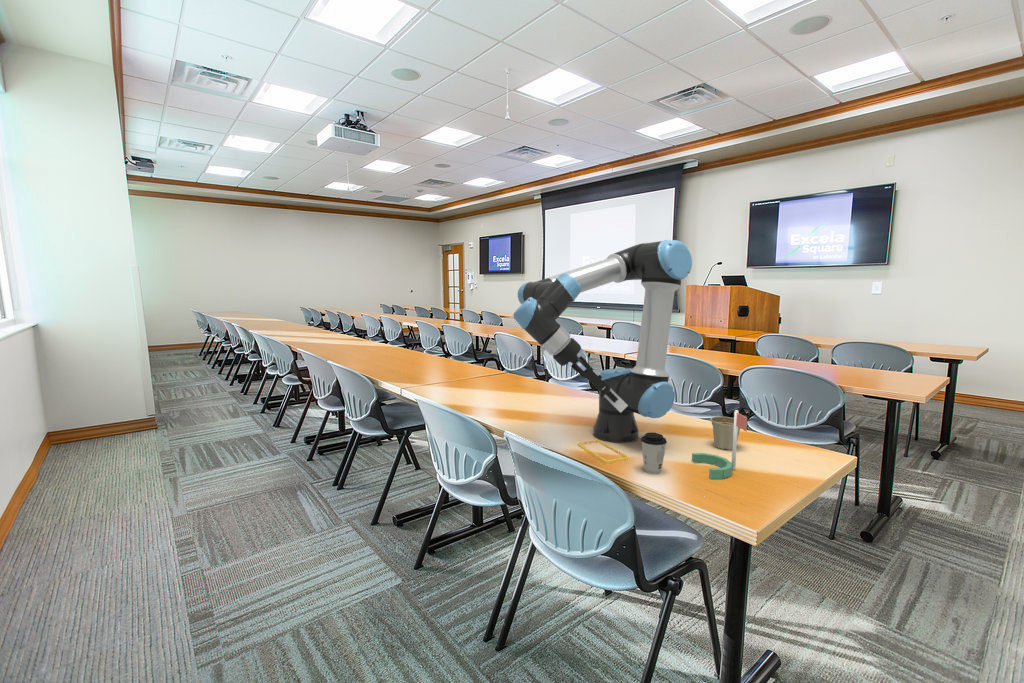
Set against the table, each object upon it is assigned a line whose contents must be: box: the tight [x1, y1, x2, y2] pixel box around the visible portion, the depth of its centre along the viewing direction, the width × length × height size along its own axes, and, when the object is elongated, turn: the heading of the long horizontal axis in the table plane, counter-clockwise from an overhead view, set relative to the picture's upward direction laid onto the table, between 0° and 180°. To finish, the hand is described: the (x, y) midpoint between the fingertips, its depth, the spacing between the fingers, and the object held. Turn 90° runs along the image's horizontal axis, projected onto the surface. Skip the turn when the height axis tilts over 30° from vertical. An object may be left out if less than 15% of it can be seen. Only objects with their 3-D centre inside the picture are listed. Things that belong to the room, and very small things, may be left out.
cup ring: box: [691, 452, 733, 480], centre depth 125 cm, size 12×8×2 cm, turn 1°
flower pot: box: [710, 416, 742, 451], centre depth 143 cm, size 9×9×9 cm
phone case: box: [577, 439, 630, 464], centre depth 139 cm, size 8×17×1 cm, turn 22°
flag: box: [731, 409, 748, 471], centre depth 122 cm, size 6×1×17 cm, turn 1°
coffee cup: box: [640, 432, 668, 475], centre depth 125 cm, size 7×7×10 cm
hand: (618, 403), depth 123 cm, fingers open, 10 cm apart
